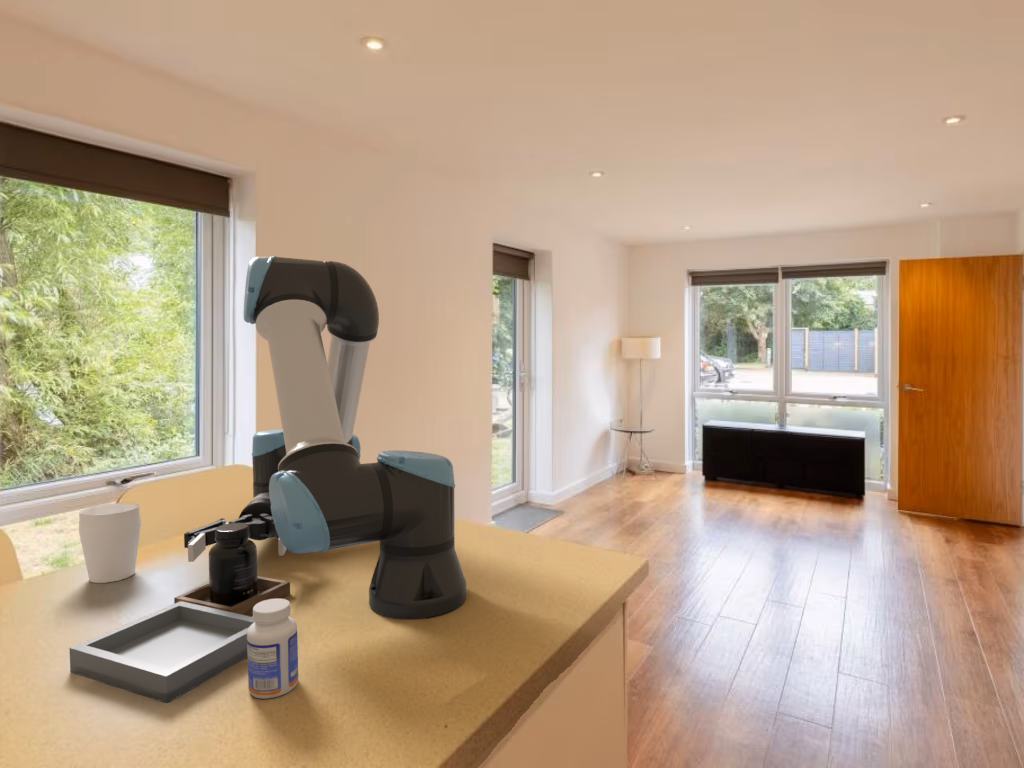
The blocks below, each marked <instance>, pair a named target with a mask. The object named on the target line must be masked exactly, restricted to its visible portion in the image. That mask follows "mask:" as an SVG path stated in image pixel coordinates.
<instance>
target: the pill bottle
mask: <svg viewBox="0 0 1024 768" xmlns="http://www.w3.org/2000/svg"><path fill="white" fill-rule="evenodd" d="M291 612H292V611H291V603H290V601H289V600H287V599H285V598H281V599H269V600H264V601H261V602H259V603H257V604H256V605H255V606H254V607H253V613H252V616H251V617H252V618H253V621H254V623H253V624H252V625H251V626H250V627H249V629H248V631H247V677H248V678H247V684H248V692H249V693H250V695H251V697H253V698H257V699H259V700H260V699H261V700H262V699H263V700H264V699H265V700H267V699H268V700H269V699H273V698H277V697H280V696H283V695H286V694H288V693H289V692H291V691H292V690H294V689H295V688H296V687H297V685H298V682H299V648H298V647H299V644H298V625H297V621H296V620H295V619H294V618H293V617H292V616H290V615H291Z"/></svg>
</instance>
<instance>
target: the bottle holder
mask: <svg viewBox="0 0 1024 768" xmlns="http://www.w3.org/2000/svg"><path fill="white" fill-rule="evenodd" d="M257 583H258V592H259V591H260V593H258V595H256V596H254V597H251V598H249V599H247V600H245V601H243V602H241V603H239V604H236V605H234V606H232V607H229V606H224V605H219V604H215V603H210V601H206V600H208V599H210V588H209V583H207V584H205V585H202V586H200V587H197V588H194V589H192V590H190V591H187V592H185V593H183V594H180V595H177V596H175V597H174V599H173V601H174V603H173V604H175V603H178V602H180V601H182V602H187V603H191V604H196V605H201V606H205V607H210V608H214V609H219V610H223V611H228V612H232V613H237V614H241V615H246V616H250V615H251V614H253V607H254V606H255V605H256V604H257V603H259V602H261V601H264V600H269V599H284V598H285V597H287V596H289V595H291V581H287V580H281V579H276V578H270V577H266V576H259V575H257Z"/></svg>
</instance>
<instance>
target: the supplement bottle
mask: <svg viewBox="0 0 1024 768" xmlns="http://www.w3.org/2000/svg"><path fill="white" fill-rule="evenodd" d="M249 537H250V533H249V525H248V524H246V523H230V524H224V525H221V526H219V527H217V528H216V529H215V541H216V542H217V543H215V544H213V546H211V548H210V549H209V551H208V581H209V583H208V584H209V588H210V598H209V602H210V603H215V604H219V605H224V606H229V607H232V606H234V605H236V604H239V603H241V602H243V601H245V600H247V599H249V598H251V597H254V596H256V595H258V594H259V590H258V583H257V576H258V554H257V553H258V550H257V549H258V548H257V545H256V543H255V542H254V540H253V541H252V539H250V538H249Z"/></svg>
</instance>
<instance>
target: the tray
mask: <svg viewBox="0 0 1024 768" xmlns="http://www.w3.org/2000/svg"><path fill="white" fill-rule="evenodd" d="M252 617H253V616H250V615H247V616H246V615H241V614H237V613H232V612H228V611H223V610H219V609H214V608H210V607H205V606H201V605H196V604H191V603H187V602H182V601H180V602H178V603H175V604H174V603H173V604H171V605H169V606H166V607H164V608H161V609H158V610H157V611H154V612H151V613H149V614H148V615H145V616H142V617H140V618H137V619H135V620H132V621H131V622H127V623H125V624H123V625H120V626H118V627H116V628H114V629H111V630H108V631H107V632H104V633H102V634H99V635H96V636H94V637H92V638H89V639H88V640H84V641H82V642H80V643H78V644H75V645H73V646H71V647H69V648H68V649H69V669H70V671H69V672H70V673H71V674H72V673H73V674H75V675H78V676H81V677H85V678H88V679H91V680H94V681H98V682H101V683H104V684H107V685H110V686H113V687H116V688H120V689H123V690H126V691H128V692H132V693H136V694H138V695H141V696H144V697H147V698H150V699H153V698H154V700H156V701H159V700H160V702H163V703H166V704H168V703H170V702H172V701H173V700H174V699H176V698H178V697H180V696H182V695H183V694H185V693H187V692H189V691H191V690H192V689H193V687H194V688H196V687H197V686H199V685H200V683H201V684H202V683H204V682H206V681H207V680H210V679H211V678H213V677H214V676H216V675H218V674H220V673H221V672H224V671H225V670H227V669H228V668H230V667H232V666H233V665H235V664H237V663H238V661H239V662H240V661H243V659H245V658H248V656H247V631H248V629H249V627H250V626H251V625H252V624H253V623H254V621H253V618H252ZM236 662H237V663H236ZM231 665H232V666H231ZM188 690H189V691H188ZM186 691H187V692H186Z"/></svg>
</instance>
